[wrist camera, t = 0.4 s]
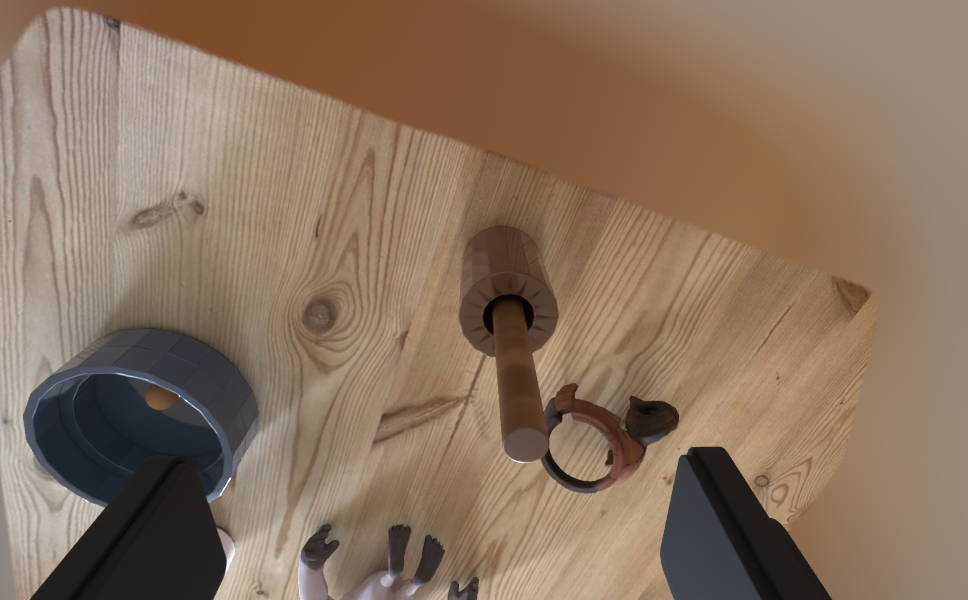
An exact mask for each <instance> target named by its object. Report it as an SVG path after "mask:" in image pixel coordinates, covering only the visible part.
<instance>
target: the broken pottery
mask: <svg viewBox="0 0 968 600" xmlns="http://www.w3.org/2000/svg"><path fill="white" fill-rule="evenodd" d="M577 388H578V386H577V384H576V383H572V384H569V385H566V386H563V387H562V388H561V389H560V391H558V392H557V395H556V397H555V398H552V399H551V400H550V401H549V403H548V405H547V407H546V409H545V411H544V416H545V422H546V427H547V432H548V437H550V434H551V431H552V430H553V429H554V427H555V426H557V425H558V424H559V423H561V422H562V415H563V414H567V413H571V414H572V418H573V420H577V421H581V422H584V423H588V424H590V425H592V426H593V427H595V428H596V429H598V430H599V431H600V432H601V433H602V434H603V435H604V436H605V437H606V439H607V440H608V441H609V443H610V446H611V448H612V450H609V451H608V456H607V460H606V462H605V466H606V467H612V469H611V471H610V472H609V473H608V474H607V475H606V476H605V477H604V478H601V479H599V480H596V481H582V480H578V479H576V478H573V477H571V476H569V475H568V474H566V473H565V472H564V471H563V470H561V469H560V467H559V466H558V465H557V464H556V463H555V461H554V460H553V458H552V455H551V453H550V449H548V451H547V453H546V454H545V455H544V456H543V457H542V458H541V461H542V464H543V466H544V467H545V469H546V471H547V472H548V473H549V475H550V476H551V477H552V478H553V479H554V480H556V481H557V482H558V483H559V484H561V485H562V486H564V487H565V488H567V489H569V490H571V491H574V492H578V493H596V492H597V491H602V490H605V489H607V488H608V487H611V486H616V485H618V484H621V483H623V482H624V481H626V480H627V479H629V478H630V477H631V476H632V475H633V474H634V473H635V472H636V470H637V469H638V468H639V466H640V464H641V463H642V461H643V458H644V456H645V453H646V449H647V446H648V445H649V444H652V443H654V442H657V441H659V440H661V439H662V438H663V437H665V436H666V435H668V434H669V433H670V432H671V431H674V430H675V429H676V428H677V426H678V422H679V414H678V412H677V410H676V408H675V407H672V406H671V405H670V404H668V403H666V402H663V401H643V400H641V399H639V398H637V397H634V396H631V397H630V409H629V410H628V411H627V414H626V418H625V426H626V429H627V431H625V430H622V429H621V428H620V427H619V423H620V421H621V418H619V417H618V416H616V415H615V414H613V413H611V412H609V411H608V410H606V409H605V408H603V407H600V406H597V405H595V404H593V403H590V402H588V401H585V400H580V399H575V392H576V390H577Z"/></svg>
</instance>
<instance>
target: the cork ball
mask: <svg viewBox="0 0 968 600" xmlns="http://www.w3.org/2000/svg"><path fill="white" fill-rule="evenodd" d="M145 398H146V402H147V404H148V405H149V406H150V407H152V408H154V409H157V410H164V409H168V408H170V407H172V406H173V405H174V404H175V403H176V402H177V400H178V398H179V395H177V394H176V393H174V392H172V391H170V390H167V389H165V388H163V387H161V386H158V385H156V384H152V385H151V386H150V387H149V388H148V390H147V392H146V395H145Z"/></svg>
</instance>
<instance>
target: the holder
mask: <svg viewBox="0 0 968 600" xmlns="http://www.w3.org/2000/svg"><path fill="white" fill-rule="evenodd" d="M506 294H515V295H519V296H521V300H522V305H523V310H524V315H525V320H526V325H527V330H528V335H529V340H530V345H531V350H532V353H533V352H535V351H537V350H538V349H540V348H542V347H543V345H544V344H545V343H546V342H547V341H548V340H549V338H550V337H551V336H552V335H553V333H554V331H555V328H556V324H557V321H558V316H559V315H558V308H557V301H556V298H555V295H554V292H553V289H552V286H551V283H550V280H549V277H548V274H547V271H546V268H545V265H544V262H543V259H542V256H541V253H540V251H539V249H538V247H537V245H536V243H535V242H534V241H533V239H532V238H531V237H530V236H529V235H527V234H526V233H525V232H523V231H521V230H519V229H517V228H514V227H509V226H496V227H491V228H488V229H485V230H483V231H481V232H480V233H478V234H477V235H476V236H474V237H473V238H472V239H471V241H470V242H469V243H468V245H467V246H466V248H465V251H464V254H463V258H462V265H461V282H460V301H459V322H460V326H461V330H462V333H463V335H464V336H465V338H466V339H467V340H468V341H469V343H470V344H471V345H472V346H473V347H474V348H475V349H476V350H478V351H480V352H482V353H484V354H485V355H487V356H489V357H494V358H496V353H495V340H494V327H493V314H492V300H493V299H495V298H496V297H498V296H500V295H506Z"/></svg>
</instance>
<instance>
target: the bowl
mask: <svg viewBox="0 0 968 600" xmlns="http://www.w3.org/2000/svg"><path fill="white" fill-rule="evenodd" d="M152 384H156V385H158V386H161V387H163V388H165V389H167V390H170V391H172V392H174V393H176V394H177V395H179V398H178V400H177V402H176V403H175V404H174V405H173V406H172V407H170V408H168V409H164V410H157V409H154V408H152V407H150V406H149V405H148V404H147V402H146V398H145V395H146V392H147V390H148V388H149V387H150V386H151V385H152ZM23 420H24V427H25V434H26V440H27V442H28V444H29V446H30V447H31V449H32V451H33V453H34V454H35V456H36V458H37V460H38V461H39V463H40V465H42V466H43V467H44V468H45V469H46V470H47V471H48V472H49V473H50V474H51V475H52V476H53V477H54V478H55V479H56V480H57V481H58V482H59V483H60V484H62V486H64V487H65V488H67V489H68V490H70V491H72V492H73V493H75V494H77V495H78V496H80V497H81V498H83V499H85V500H86V501H89V502H91V503H94V504H96V505H99V506H102V507H104V508H106V506H107V505H108V504H109V503H110V502H111V500H112V499H113V498H114V497H115V496H116V494H117V493H118V492H119V491H120V489H121V488H122V487H123V486H124V485H125V483H126V482H127V481H128V480H129V479H130V477H131V476H132V475H133V474H134V472H135V471H136V470H137V469H138V468H139V466H140V465H141V464H142V463H143V462H144V461H145V460H146V459H147V458H149V457H151V456H184V457H185V458H187V460H188V462H189V463H190V464H194V465H195V466H196V468H197V471H198V474H199V477H200V480H201V483H202V486H203V489H204V492H205V495H206V498H207V501H208V504H209V503H211V502H212V501H214V500H215V499H216V498H218V497H219V496H220V495H221V494H222V492H223V491H224V489H225V487H226V486H227V484H228V482H229V481H230V479H231V477H232V476H233V474H234V472H235V470H236V469H237V467H238V465H239V463H240V461H241V460H242V458H243V456H244V454H245V453H246V451H247V449H248V447H249V446H250V444H251V442H252V440H253V438H254V437H255V435H256V431H257V422H258V409H257V405H256V402H255V398H254V395H253V391H252V390H251V388H250V387H249V385H248V384H247V382H246V381H245V380H244V378H243V377H242V375H241V374H240V372H239V371H238V370H237V369H236V367H235V366H233V365H232V364H231V363H230V362H228V361H227V360H226V359H225V358H224V357H222V356H221V355H220V354H219V353H218V352H216V351H215V350H213V349H212V348H210V347H208V346H206V345H203V344H201V343H199V342H197V341H195V340H193V339H191V338H189V337H187V336H185V335H181V334H177V333H172V332H168V331H163V330H159V329H153V328H151V329H127V330H121V331H118V332H116V333H113V334H110V335H107V336H105V337H102V338H99V339H97V340H96V341H95V342H93V343H92V344H91V345H89V346H88V347H87V348H86V349H84V350H83V351H82V352H80V353H79V354H78V355H76V356H75V357H74V358H73V359H71V360H70V361H69V362H67V363H66V364H65V365H63V366H62V367H61V368H60V369H58V370H57V371H56V372H54V373H53V374H52V375H50V376H49V377H48V378H47V379H46V380H45V381H44V382H43V383H42V384H40V385H39V386H38V387H37V388H36V389H35V390H34V391H33V392H32V393H31V395H30V397H29V400H28V403H27V406H26V409H25V412H24V415H23Z"/></svg>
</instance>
